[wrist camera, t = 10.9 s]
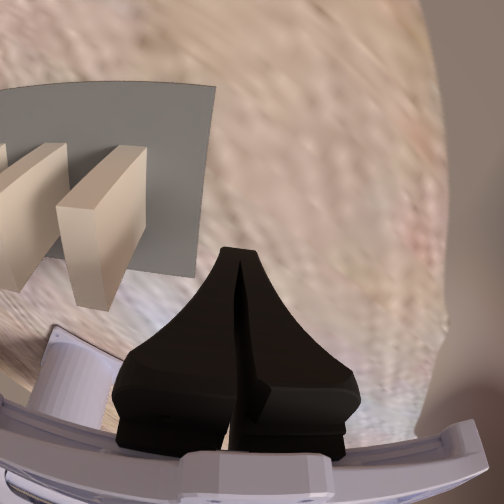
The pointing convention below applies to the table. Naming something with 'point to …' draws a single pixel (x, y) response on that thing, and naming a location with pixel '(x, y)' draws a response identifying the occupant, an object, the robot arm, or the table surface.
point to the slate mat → (132, 134)
